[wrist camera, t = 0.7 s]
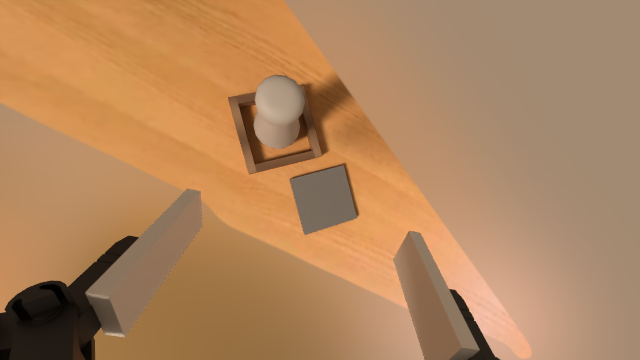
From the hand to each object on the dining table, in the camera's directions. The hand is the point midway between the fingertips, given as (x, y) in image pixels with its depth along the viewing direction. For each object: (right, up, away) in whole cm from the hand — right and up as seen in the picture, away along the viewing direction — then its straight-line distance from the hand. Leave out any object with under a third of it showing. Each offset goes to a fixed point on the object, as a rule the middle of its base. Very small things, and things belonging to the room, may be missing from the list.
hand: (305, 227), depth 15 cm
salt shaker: (-5, +10, +17) cm, 21 cm away
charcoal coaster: (+2, 0, +19) cm, 19 cm away
